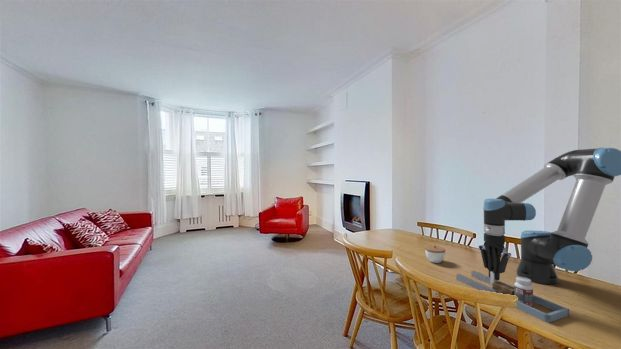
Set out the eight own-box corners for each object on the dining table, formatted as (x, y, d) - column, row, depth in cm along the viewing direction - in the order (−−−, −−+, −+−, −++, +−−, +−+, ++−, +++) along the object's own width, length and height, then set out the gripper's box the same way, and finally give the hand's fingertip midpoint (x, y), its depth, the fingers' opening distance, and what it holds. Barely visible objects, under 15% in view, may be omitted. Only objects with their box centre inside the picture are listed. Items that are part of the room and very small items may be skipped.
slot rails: (456, 279, 123) (456, 274, 123) (474, 275, 126) (474, 270, 126) (498, 299, 104) (498, 293, 104) (517, 293, 108) (517, 288, 107)
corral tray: (498, 299, 104) (498, 293, 104) (517, 294, 107) (517, 288, 107) (548, 322, 88) (548, 315, 87) (569, 315, 91) (569, 309, 91)
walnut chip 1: (492, 291, 110) (492, 282, 110) (498, 290, 111) (498, 281, 111) (501, 296, 106) (501, 286, 106) (508, 294, 107) (508, 285, 107)
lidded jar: (448, 265, 141) (447, 248, 140) (427, 264, 143) (427, 247, 142) (442, 258, 151) (441, 243, 151) (423, 257, 153) (423, 242, 153)
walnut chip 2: (501, 296, 106) (501, 286, 106) (508, 294, 107) (508, 285, 107) (511, 300, 102) (511, 291, 102) (518, 298, 103) (518, 289, 103)
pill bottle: (528, 308, 96) (528, 283, 96) (511, 301, 102) (511, 277, 101) (535, 304, 99) (535, 280, 99) (518, 298, 104) (518, 274, 104)
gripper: (474, 231, 116) (474, 281, 116) (503, 238, 103) (503, 294, 104) (485, 229, 118) (486, 278, 118) (515, 236, 105) (515, 291, 106)
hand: (494, 286), depth 111 cm, fingers closed
